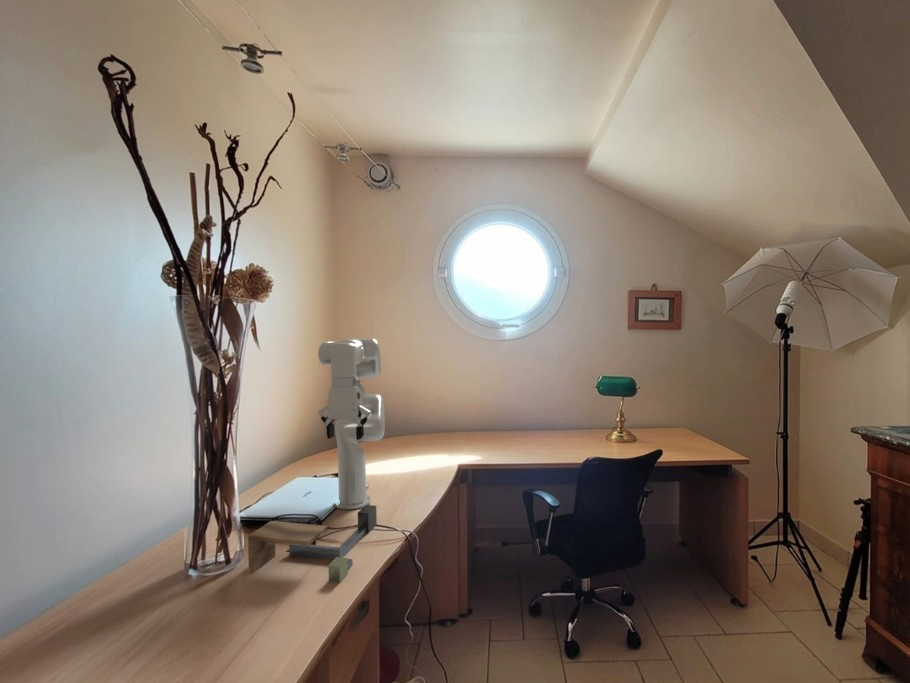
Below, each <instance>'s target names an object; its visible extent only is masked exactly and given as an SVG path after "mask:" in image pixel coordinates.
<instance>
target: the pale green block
mask: <svg viewBox="0 0 910 683" xmlns="http://www.w3.org/2000/svg"><path fill="white" fill-rule="evenodd" d="M353 564H354V563H353V558H348V557H343V558H341V557H336V558H335V559H334V560H331V562H329V564H328V583H338V584H340V583H342V581H344V579H345V578H346V577H347V576H348V573H349V572H348V571H349V570H350V569H351V568H352V567H353Z"/></svg>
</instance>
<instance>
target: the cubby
mask: <svg viewBox="0 0 910 683" xmlns="http://www.w3.org/2000/svg"><path fill="white" fill-rule="evenodd" d="M327 530H328V525H320V524H309V523H298V522H289V521H277V520H270V521H269V522H267V523H265V524H264V525H262V526H261V527H259V528H258V529H256V530H255V531H253V532H251V533H250V534H248V535H247V546H248V548H247V549H248V550H247V551H248V574H255V573H256V572H257V571H258V570H259V569H261V568H262V567H264V566H265V565H266V564H267V563H268V562H270V561H271V560H273V559H274V557H276V544H278V543H279V544H287V545H290V544H295V545H305V546H309V545H310V544H311V543H312V542H314V541H315V540H316V541H317V539H318V538H319V537H321V536H322V535H324V533H325V532H326V531H327Z"/></svg>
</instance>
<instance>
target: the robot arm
mask: <svg viewBox="0 0 910 683" xmlns="http://www.w3.org/2000/svg"><path fill="white" fill-rule="evenodd" d="M317 353H318V354H317V355H318V360H319V362H320V364H321V365H322V366H325V367H326V366H328V367H330V376H331V380H330V381H331V385H330V386H331V387H329V391H328V396H327V406H325V407H323V408H322V409H320V410H318V413H317V414H318V415H319V417H320V420H321V421H322V422H323V424H324V426H325V427H326V437H327V439H332V438H334V437H335V439H336V444H337V467H338V468H337V471H338V474H337V475H338V476H337V477H338V479H337V480H338V498H339V500H340V504H339V505H338V506H337V505H336V506H335V508H337V509H341V510H355V509H362V508H363V507H364V506H365V505H370V503H371V497H370V496H369V495H368V494H367V490H368V489H369V488H370V485H369V484H367V481H366V480H367V479H366V478H367V475H366V474H367V473H366V470H367V469H366V468H367V467H366V452H365V449H364V448H363V447H362V446H361V445H360V442H375V441H380V440H382V439H383V437H384V435H385V431H386V427H385V426H386V424H385V423H386V422H385V420H386V419H385V418H386V417H385V413H386V412H385V401H384V399H383V397H382V396H381V394H377V393H368V394H367V393H366V390H365V387H364V385H363V384H362V383H361V379H367V378H368V379H370V378H377V377H379V376H380V375H381V372H382V362H381V361H382V360H381V359H382V358H381V348H380V344H379V341H377V339H375V338H371V337H370V338H349V339H348V338H347V339H340V340H334V341H325V342H322V343H321V344H320V345H319V347H318V352H317ZM326 412H327V415H326ZM334 422H335V423H334Z"/></svg>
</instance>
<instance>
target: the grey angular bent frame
mask: <svg viewBox="0 0 910 683" xmlns="http://www.w3.org/2000/svg"><path fill="white" fill-rule="evenodd" d="M377 516H378V515H377V505H372V504H368V505H365V506H364V507H361V508H360V510H358V512H357V529H356V530H355V531H354V532H353V533H352V534H351V535H350V536H349V537H348V538H347V539H345V541H343V543H342V544H341V545H340V546H330V545H320V544H316V545H311V544H310V545H309V546H305V545H295V544H288V545H289V548H288V550H289V552H288V553H289V556H291V557H300V558H307V559H308V558H310V559H317V560H319V559H320V560H328V561H333V560H334V559H335V558H336V557H341V558H345V556H346V555H347V554H348V553H349V552H350V551H351V550H352V549H353V548H354V547H355V546H356V545H357V543H359V541H360V540H361V539H362V538H364V536H365V535H366V534H369V533H371V531H373V529H374V528H375V527H376V526H377V523H378V521H377V520H378V519H377Z"/></svg>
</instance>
